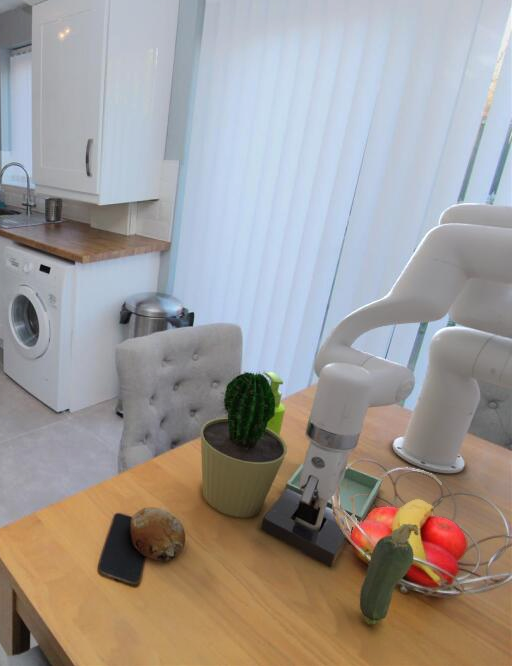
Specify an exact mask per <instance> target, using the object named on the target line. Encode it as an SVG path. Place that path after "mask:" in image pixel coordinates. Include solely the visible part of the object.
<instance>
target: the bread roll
mask: <svg viewBox="0 0 512 666" xmlns="http://www.w3.org/2000/svg"><path fill="white" fill-rule="evenodd" d="M129 527H130V530H129V531H130V537H131V542H132V545H133V547H134V548H135V549H136V550H137V551H138V553H140V554H141V555H142V556H144V557H145V558H147V559H151V560H156V561H159V562H168V561H171V560H172V559H174V558H175V557H177V556H179V555H180V553H181V552H182V551H183V549H185V544H186V533H185V527H184V525H183V523H182V522H181V521H180V519H179V518H178V517H176V516H175V515H174V514H172V513H171V512H169V511H168V510H165V509H163V508H159V507H154V506H145V507H144V508H141V509H140V510H139V511H137V512H136V513H135V514H134V515H133V516H132V517H131V519H130V524H129Z"/></svg>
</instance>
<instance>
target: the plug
mask: <svg viewBox="0 0 512 666" xmlns="http://www.w3.org/2000/svg"><path fill="white" fill-rule="evenodd" d="M303 490H304V489H303ZM316 490H317V489H316ZM302 493H303V492H302ZM316 498H317V496H315V495H313V497H312V499H314V500H315V501H316ZM327 502H328V501H324V500H323V499H321V501H320V504H319V507H320V512H319V515H318V519H317V522H316V524H315V525H311V524H309V523H307V522H305V521H303V520H301V519H299V518H297V517H296V519H295V520H294V521H296V522H298V523H300V524H302V525H304V526H306V527H308V528H310V529H312V530H314V531H316V532H318V533H319V532H320V530H321V529H320V527H321V523H322V520H323V516H324V512H325V509H326V505H327Z"/></svg>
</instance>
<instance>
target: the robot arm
mask: <svg viewBox="0 0 512 666" xmlns="http://www.w3.org/2000/svg"><path fill="white" fill-rule="evenodd" d="M447 315H448V318H449V320H451V321H452V322H453V324H454V323H455V324H456V325H459V326H447V327H443V328H441V329H439V330H437V331H436V332H435V333H434V334H433V335H432V337H431V339H430V341H429V345H428V352H427V363H426V370H425V372H424V373H425V374H424V376H423V381H422V383H421V386H420V389H419V393H418V396H417V399H416V402H415V404H414V407H413V410H412V413H411V416H410V419H409V421H408V425H407V428H406V431H405V433H404V436H400V437H397V438H395V439H394V440H393V443H392V449H393V451H394V453H395V454H396V455H398V457H400V458H401V459H402V460H404V461H406V462H407V463H409V464H411V465H413V466H416V467H417V468H420V469H423V470H427V471H430V472H434V473H440V474H457V473H461V471H463V469H465V468H464V467H465V466H466V463H465V459H464V458H463V457H462V456H461V454H460V451H461V448H462V445H463V444H464V441H465V438H466V436H467V433H468V432H469V429H470V426H471V424H472V421H473V418H474V415H475V414H476V411H477V408H478V406H479V404H480V400H481V390H480V387H479V384H478V382H477V380H479V381H482V382H485V383H487V384H491V385H495V386H498V387H501V388H503V389H507V390H511V391H512V206H510V205H500V204H488V203H474V202H473V203H464V202H463V203H458V204H452V205H450V206H448V207H447V208H445V209H444V210H443V211H442V213H441V214H440V217H439V220H438V225H437V226H434V227H433V228H431V229H430V230H429V231H428V232H427V233H426V234H425V235H424V236H423V238H422V240H421V241H420V243H419V245H418V246H417V247H416V249H415V250H414V252H413V254H412V256H411V257H410V259H409V260H408V262H407V264H406V265H405V267H404V268H403V270H402V271H401V273H400V274H399V276H398V278H397V279H396V280H395V283H394V284H393V285H392V287H391V289H390V290H389V292H388V293H387V294H386V295H385V296H384V297H382V298H380V299H378V300H377V299H376V300H375V301H372V302H370V303H367V304H365V305H363V306H361V307H359V308H358V309H355V310H354V311H352V312H351V313H349V314H347V315H346V316H345V317H343V318H342V319H341V320H339V322H338V323H336V324H335V326H334V327H333V328H332V329H331V331H330V332H329V334H328V335H327V338H326V339H325V340H324V342H323V344H322V345H321V347H320V348H319V350H318V353H317V354H316V356H315V360H314V363H313V370H314V373H315V376H316V377H317V378H318V380H317V384H316V388H315V393H314V397H313V401H312V406H311V408H310V412H309V413H310V414H309V417H308V421H307V425H306V428H305V437H306V438H307V440H308V441H309V444H308V448H307V450H306V454H305V458H304V461H303V462H304V464H303V468H302V472H301V475H300V480H299V488H300V490H302V489H304V490H303V493H302V496H301V499H300V502H299V506H298V510H297V514H296V517H297V518H299V519H301V520H303V521H305V522H307V523H309V524H311V525H315V524H316V522H317V519H318V515H319V512H320V507H319V504H320V501H321V499H323V500H324V501H328V500H330V499H331V497H332V496H333V495H334V493H335V492H336V490H337V489H338V487H339V486H340V484H341V482H342V481H343V478H344V475H345V471H346V466H348V462H349V457H350V453H351V452H353V451H355V450H356V449H357V447H358V446H357V445H358V443H359V440H360V437H361V433H362V430H363V426H364V422H365V419H366V416H367V413H368V410H369V409H371V408H378V407H389V406H392V405H395V404H398V403H401V402H402V401H404V400H406V399H408V398H409V397H410V395H411V394H412V393H413V391H414V388H415V384H416V379H415V375H414V373H413V371H411V370H410V369H409V368H408V367H406V366H405V365H403V364H401V363H399V362H395V361H392V360H389V359H387V358H383V357H380V356H378V355H375V354H373V353H369V352H366V351H363V350H360V349H357V348H354V347H352V345H353V344H354V343H355V341H357V339H359V338H360V337H362V335H364V334H365V333H368V332H370V331H372V330H375V329H377V328H383V327H388V326H394V325H395V326H396V325H404V324H420V323H431V322H432V323H433V322H436V321H439V320H442V319H443V318H445V317H446V316H447ZM316 489H317V490H316ZM313 495H315V496H317V498H316V501H315V500H314V499H312V497H313Z"/></svg>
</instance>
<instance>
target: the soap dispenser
mask: <svg viewBox="0 0 512 666" xmlns="http://www.w3.org/2000/svg"><path fill="white" fill-rule="evenodd" d="M263 372H264V373H265V374H266V375H265V376H267V378H268V380H271V381H270V382H271V383H270V384H271V386H270V387H271V389H272V392H276V394H275V393H273V394H275V395H274V396H276V397H275V399H276V400H275V403H277V404H275V414H276V415H274V417H272V418H271V419H270V421H271V422H270V421H268V423H267V424H268V425H269V427H268V426H267V428H269V429H271V430H272V431H274V432H275V433H277V434H278V435H279V436H280V435H281V430H282V426H283V421H284V416H285V412H286V406H285V405H284V404H283V403H281V400H282V395H283V393H282V391H280V390H279V389H280V385H283V384H284V381H283V380H282V378H281V377H280V376H279V375H278V374H277V373H275V372H273V371H263ZM264 373H263V374H264ZM272 382H273V384H272ZM274 382H275V383H274ZM274 389H277V390H274ZM277 395H278V396H277ZM279 403H281V404H279ZM276 407H277V408H276ZM276 410H277V411H276ZM276 412H277V413H276ZM272 421H273V422H274V423H273V422H272Z"/></svg>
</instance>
